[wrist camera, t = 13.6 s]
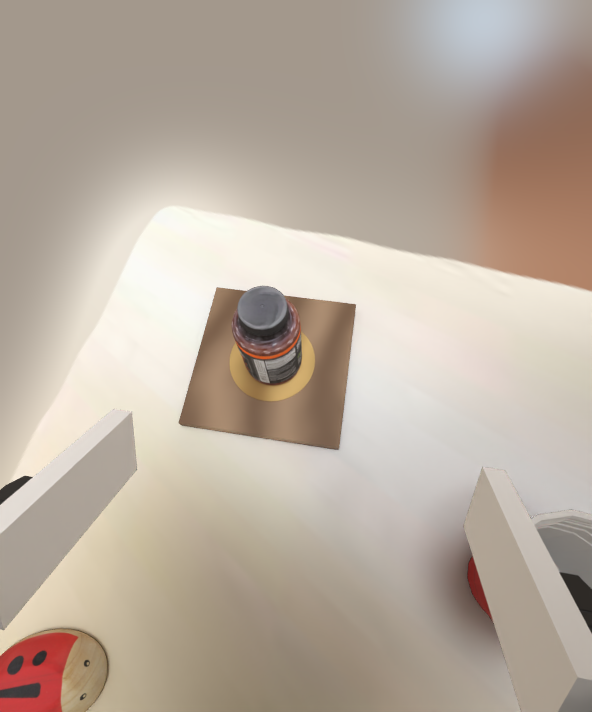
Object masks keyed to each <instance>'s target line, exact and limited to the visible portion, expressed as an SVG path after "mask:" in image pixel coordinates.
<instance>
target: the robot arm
mask: <svg viewBox="0 0 592 712" xmlns="http://www.w3.org/2000/svg"><path fill="white" fill-rule="evenodd" d="M136 470H137V463H136V452H135V440H134V429H133V418H132V412H130V411H124V410H118V409H113V410H112V411H110V412H109V413H108V414H107V415H106V416H104V417H103V418H102V419H101V420H100V421H99V422H97V423H96V424H95V425H94V426H93V427H92V428H90V429H89V430H88V431H87V432H86V433H84V434H83V435H82V436H81V437H80V438H79V439H77V440H76V441H75V442H74V443H73V444H72V445H70V446H69V447H68V448H67V449H66V450H64V451H63V452H62V453H61V454H60V455H59V456H57V457H56V458H55V459H54V460H53V461H51V462H50V463H49V464H48V465H47V466H46V467H44V468H43V469H42V470H41V471H40V472H39V473H37V474H36V475H35V476H34V477H29V476H23V477H21V478H19V479H17V480H15V481H13V482H11V483H9V484H8V485H6V486H4V487H3V488H2V489H1V490H0V629H2V630H5V628H6V627H7V626H8V625H9V624H10V622H11V621H12V620H13V619H14V617H15V616H16V615H17V614H18V613H19V611H20V610H21V609H22V608H23V607H24V605H25V604H26V603H27V602H28V601H29V599H30V598H31V597H32V596H33V595H34V593H35V592H36V591H37V590H38V588H39V587H40V586H41V585H42V584H43V582H44V581H45V580H46V579H47V578H48V576H49V575H50V574H51V573H52V572H53V570H54V569H55V568H56V567H57V566H58V564H59V563H60V562H61V561H62V559H63V558H64V557H65V556H66V555H67V553H68V552H69V551H70V550H71V549H72V547H73V546H74V545H75V544H76V543H77V541H78V540H79V539H80V538H81V537H82V535H83V534H84V533H85V532H86V530H87V529H88V528H89V527H90V526H91V524H92V523H93V522H94V521H95V520H96V518H97V517H98V516H99V515H100V514H101V512H102V511H103V510H104V509H105V508H106V506H107V505H108V504H109V503H110V501H111V500H112V499H113V498H114V497H115V495H116V494H117V493H118V492H119V491H120V489H121V488H122V487H123V486H124V485H125V483H126V482H127V481H128V480H129V479H130V477H131V476H132V475H133V474H134V472H135V471H136ZM464 530H465V533H466V536H467V539H468V542H469V546H470V549H471V552H472V555H473V558H474V562H475V565H476V568H477V571H478V574H479V578H480V581H481V584H482V587H483V590H484V594H485V597H486V600H487V603H488V606H489V610H490V613H491V616H492V619H493V622H494V626H495V629H496V632H497V635H498V638H499V642H500V645H501V648H502V651H503V654H504V658H505V661H506V664H507V667H508V670H509V674H510V677H511V680H512V683H513V686H514V690H515V693H516V696H517V699H518V702H519V706H520V709H521V712H592V589H591V588H590V587H589V586H588V585H587V584H586V583H585V582H584V581H583V580H582V579H581V578H580V577H579V576H578V575H574V574H568V573H563V572H559V571H558V569H557V567H556V565H555V563H554V562H553V560H552V558H551V556H550V554H549V552H548V550H547V548H546V546H545V545H544V543H543V541H542V539H541V537H540V535H539V533H538V531H537V529H536V528H535V526H534V524H533V522H532V520H531V518H530V516H529V514H528V512H527V511H526V509H525V507H524V505H523V503H522V501H521V499H520V497H519V495H518V494H517V492H516V490H515V488H514V486H513V484H512V482H511V480H510V479H509V477H508V475H507V473H506V471H505V470H499V469H493V468H487V467H482V470H481V473H480V476H479V479H478V482H477V486H476V489H475V492H474V495H473V498H472V501H471V504H470V507H469V510H468V514H467V517H466V520H465V523H464Z"/></svg>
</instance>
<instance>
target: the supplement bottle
mask: <svg viewBox="0 0 592 712" xmlns="http://www.w3.org/2000/svg"><path fill="white" fill-rule="evenodd" d="M231 327H232V333H233V336H234V339H235V341H236V344H237V346H238V349H239V351H240V353H241V356H242V358H243V361H244V364H245V366H246V368H247V370H248V372H249V373H250V375H251V376H252V377H253V378H254V379H255V380H257V381H258V382H260V383H263V384H266V385H280V384H283V383H285V382H287V381H289V380H291V379H292V378H293V377H294V376H295V375H296V374H297V372H298V370H299V368H300V366H301V361H302V342H301V324H300V317H299V314H298V312H297V310H296V308H295V307H294V305H293V304H292V303H291V302H290V301H289V300H287V299H286V298H285V297H284V295H283V294H282V293H281V292H280V291H278V290H277V289H275V288H273V287H269V286H258V287H254V288H252V289H250V290H248V291H247V292H245V293H244V294H243V295H242V297H241V298H240V300H239V302H238V307H237V309H236V311H235V313H234V315H233V319H232V325H231Z"/></svg>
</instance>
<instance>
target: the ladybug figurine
mask: <svg viewBox="0 0 592 712" xmlns="http://www.w3.org/2000/svg"><path fill="white" fill-rule="evenodd" d="M106 676H107V660H106V656H105V653H104V651H103V649H102V647H101V646H100V645H99V643H98V642H97V641H96V640H94V639H93V638H92V637H90V636H89V635H87V634H85V633H83V632H80V631H76V630H70V629H54V630H48V631H43V632H39V633H36V634H33V635H30V636H28V637H26V638H24V639H22V640H20V641H19V642H17V643H15V644H14V645H13V646H11V647H10V648H9V649H8V650H6V651H5V652H4V653H3V654H2V655H1V656H0V712H85V711H86V710H87V709H88V708H89V707H90V706H91V705H92V704H93V703H94V701H95V700H96V699H97V697H98V696H99V694H100V692H101V690H102V689H103V686H104V684H105V680H106Z"/></svg>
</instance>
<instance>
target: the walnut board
mask: <svg viewBox="0 0 592 712" xmlns="http://www.w3.org/2000/svg"><path fill="white" fill-rule="evenodd" d="M245 292H247V291H242V290H234V289H225V288H217V289H216V292H215V296H214V299H213V303H212V306H211V310H210V313H209V317H208V320H207V324H206V328H205V331H204V335H203V338H202V342H201V345H200V349H199V352H198V356H197V359H196V363H195V367H194V370H193V374H192V377H191V381H190V384H189V388H188V391H187V395H186V398H185V402H184V406H183V409H182V413H181V416H180V420H179V424H181V425H183V426H190V427H196V428H203V429H209V430H215V431H222V432H228V433H234V434H241V435H247V436H254V437H260V438H266V439H273V440H279V441H285V442H292V443H298V444H305V445H311V446H317V447H324V448H330V449H336V450H338V449H339V444H340V435H341V427H342V418H343V410H344V401H345V393H346V384H347V376H348V367H349V359H350V350H351V342H352V333H353V325H354V316H355V308H356V304H348V303H340V302H332V301H323V300H315V299H307V298H299V297H291V296H284V297H285V298H286V299H287V300H289V301H290V302H291V303H292V304H293V305H294V307H295V308H296V310H297V312H298V314H299V317H300V324H301V342H302V361H301V366H300V368H299V370H298V372H297V374H296V375H295V376H294V377H293V378H292V379H291V380H289V381H287V382H285V383H283V384H280V385H266V384H263V383H260V382H258V381H257V380H255V379H254V378H253V377H252V376H251V375H250V373H249V372H248V370H247V368H246V366H245V364H244V361H243V358H242V356H241V353H240V351H239V349H238V346H237V344H236V341H235V339H234V336H233V333H232V327H231V325H232V319H233V315H234V313H235V311H236V309H237V307H238V302H239V300H240V298H241V297H242V295H243V294H244V293H245Z"/></svg>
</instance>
